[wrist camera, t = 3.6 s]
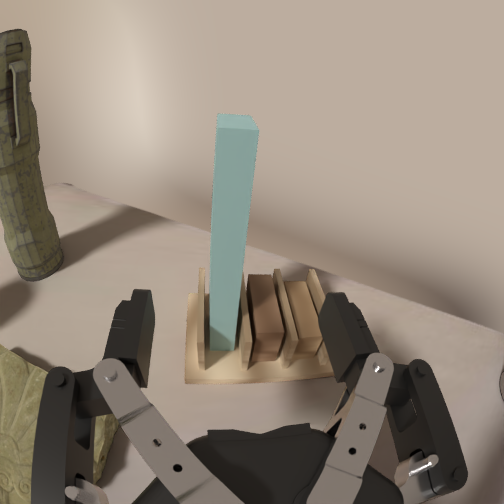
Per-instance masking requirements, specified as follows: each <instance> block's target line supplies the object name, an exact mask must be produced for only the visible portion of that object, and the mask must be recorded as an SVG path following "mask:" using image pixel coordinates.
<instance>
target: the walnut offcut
mask: <svg viewBox="0 0 504 504" xmlns="http://www.w3.org/2000/svg"><path fill="white" fill-rule="evenodd" d="M246 298H247V306H248V313H249V321H250V328H251V336H252V347H251V352H250V355H251V362H265V361H275V360H276V357H277V354H278V351H279V348H280V345H281V341H282V338H283V335H284V329H283V324H282V320H281V315H280V311H279V307H278V302H277V298H276V294H275V289H274V285H273V281H272V277H271V275H253V274H248V282H247V290H246Z"/></svg>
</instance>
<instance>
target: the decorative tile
mask: <svg viewBox="0 0 504 504" xmlns="http://www.w3.org/2000/svg"><path fill="white" fill-rule="evenodd" d="M47 374H48V372H46V371H45V370H43V369H41V368H39V367H36V366H35V365H33V364H31V363H29V362H27V361H26V360H25V359H23V358H22V357H20V356H18V355H17V354H15V353H14V352H12V351H10V350H8V349H6V348H5V347H4V346H2V345H1V344H0V504H31V474H32V459H33V449H34V440H35V432H36V425H37V418H38V412H39V407H40V401H41V396H42V391H43V386H44V382H45V378H46V375H47ZM118 426H119V422H118V420H117V418H116V417H115V415H114V414H108V415H103V416H97V417H96V423H95V438H94V466H93V484H94V485H96V482H97V481H98V480H99V479H100V478H101V473H102V471H103V469H104V467H105V463H106V458H107V454H108V451H109V450H110V446H111V444H112V442H113V436H114V434H115V432H116V431H117V429H118Z"/></svg>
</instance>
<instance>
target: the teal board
mask: <svg viewBox="0 0 504 504" xmlns="http://www.w3.org/2000/svg"><path fill="white" fill-rule="evenodd" d="M216 129H217V130H216V142H215V158H214V177H213V194H212V217H211V246H210V293H209V331H210V351H234V344H235V335H236V326H237V317H238V308H239V299H240V290H241V281H242V272H243V263H244V255H245V246H246V237H247V228H248V219H249V211H250V202H251V194H252V186H253V177H254V169H255V161H256V152H257V144H258V136H259V129H258V128H257V126H256V124H255V122H254V120H253V119H252V117H251V116H249V115H234V114H218V115H217V128H216Z"/></svg>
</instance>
